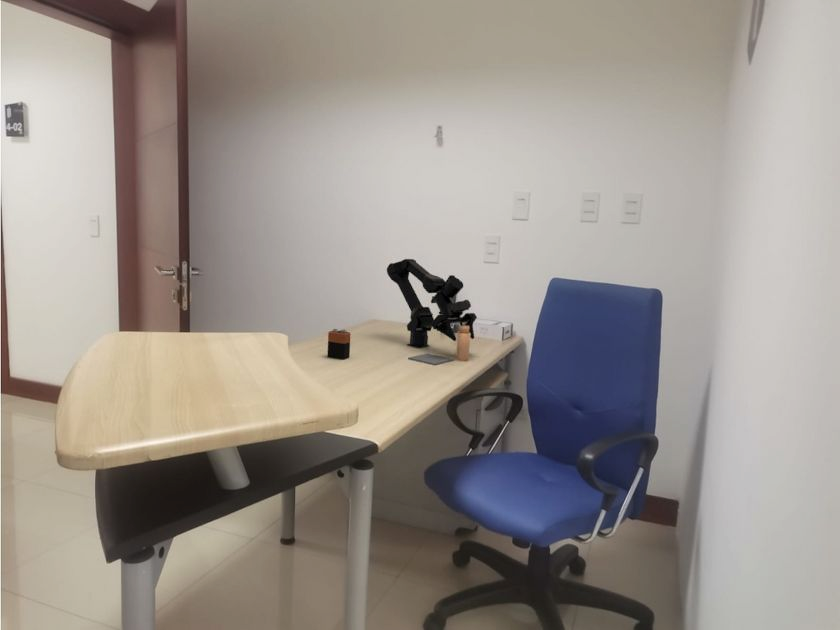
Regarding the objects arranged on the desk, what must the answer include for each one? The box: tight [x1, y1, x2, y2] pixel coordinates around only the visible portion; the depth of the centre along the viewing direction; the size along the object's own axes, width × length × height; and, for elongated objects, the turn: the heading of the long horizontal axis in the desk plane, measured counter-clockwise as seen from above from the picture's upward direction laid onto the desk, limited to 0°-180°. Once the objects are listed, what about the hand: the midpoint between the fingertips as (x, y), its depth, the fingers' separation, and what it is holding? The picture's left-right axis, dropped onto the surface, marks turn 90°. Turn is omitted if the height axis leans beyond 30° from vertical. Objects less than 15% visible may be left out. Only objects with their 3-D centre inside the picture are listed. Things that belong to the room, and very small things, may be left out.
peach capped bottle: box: [455, 324, 471, 362], centre depth 210 cm, size 5×5×12 cm
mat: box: [407, 353, 455, 366], centre depth 207 cm, size 12×12×1 cm
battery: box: [327, 328, 351, 360], centre depth 201 cm, size 4×7×10 cm, turn 68°
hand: (464, 339), depth 210 cm, fingers open, 9 cm apart
